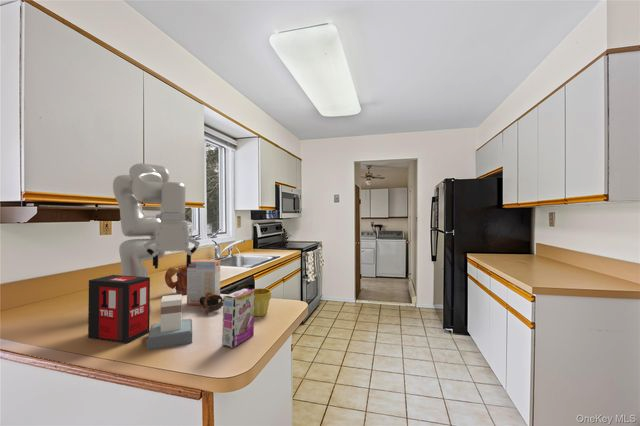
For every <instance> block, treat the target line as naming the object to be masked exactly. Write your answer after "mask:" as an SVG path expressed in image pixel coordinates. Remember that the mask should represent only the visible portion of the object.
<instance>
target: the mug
mask: <svg viewBox="0 0 640 426" xmlns="http://www.w3.org/2000/svg"><path fill="white" fill-rule="evenodd" d="M175 275H176V281H173V279H172V278H173V276H175ZM164 282H165V284H166V286H167V287H168V288H170V289H173V290H174V289H175V293H176V294H177V295H179V294H182V295H187V267H186V265H185V266H178V268H176V267H172V266H171V267H169V268H168V269H167V270H166V272H165V274H164Z"/></svg>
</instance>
